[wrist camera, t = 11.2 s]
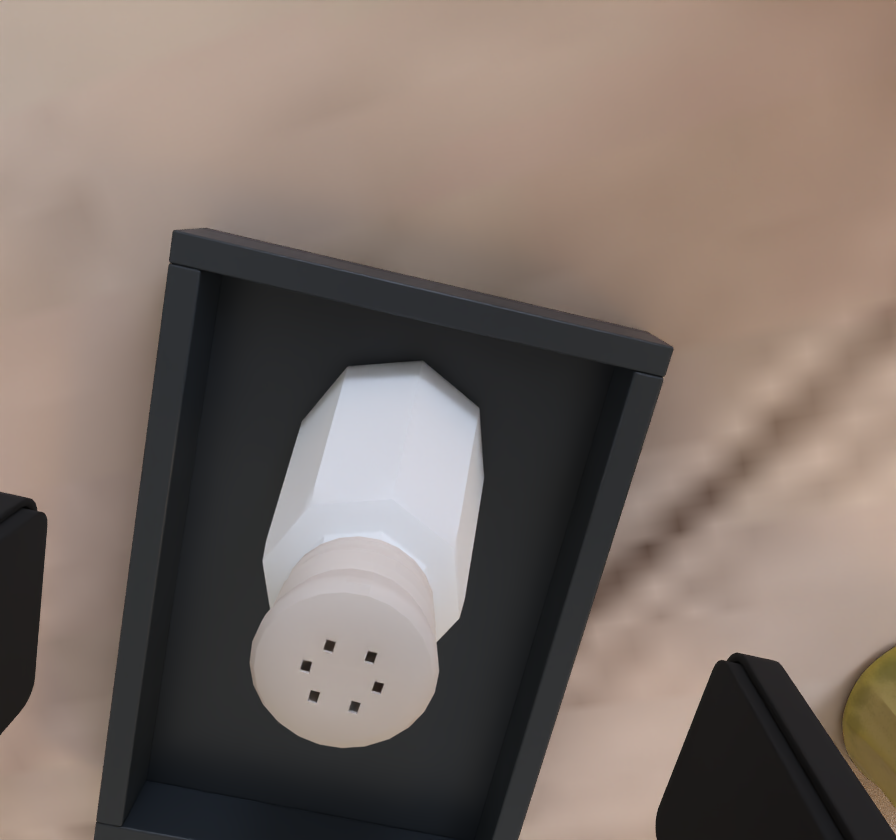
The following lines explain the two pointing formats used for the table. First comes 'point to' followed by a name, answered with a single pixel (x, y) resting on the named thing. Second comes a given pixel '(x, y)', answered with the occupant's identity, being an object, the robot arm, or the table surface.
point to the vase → (874, 724)
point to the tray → (251, 513)
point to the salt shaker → (368, 554)
